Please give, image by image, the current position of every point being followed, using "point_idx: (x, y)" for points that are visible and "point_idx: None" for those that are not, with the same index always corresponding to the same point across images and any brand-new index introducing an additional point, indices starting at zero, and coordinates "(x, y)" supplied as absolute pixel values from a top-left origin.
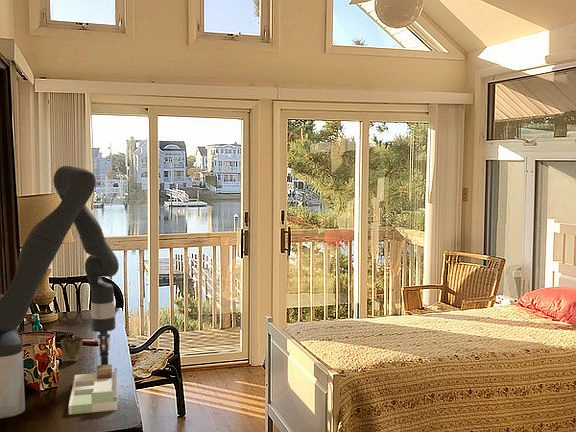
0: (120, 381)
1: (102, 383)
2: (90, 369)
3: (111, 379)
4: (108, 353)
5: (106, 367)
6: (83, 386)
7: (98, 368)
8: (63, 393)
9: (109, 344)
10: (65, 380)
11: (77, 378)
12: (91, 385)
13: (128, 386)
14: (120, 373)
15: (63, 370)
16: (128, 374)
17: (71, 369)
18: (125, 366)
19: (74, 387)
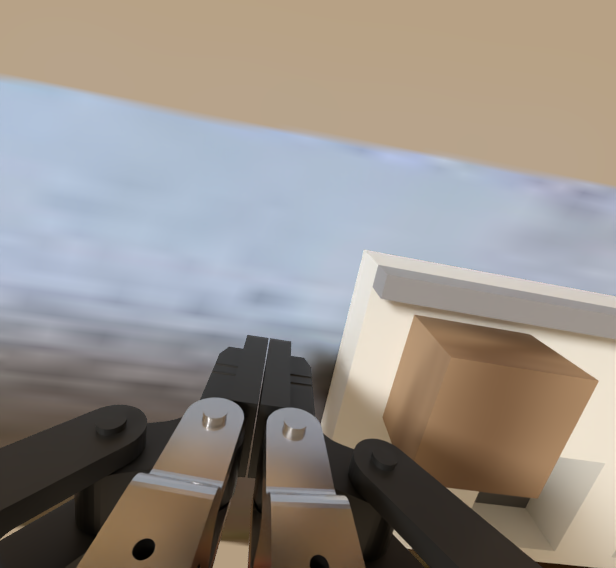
0: (435, 237)
1: (610, 411)
2: (40, 387)
3: (567, 342)
4: (225, 412)
5: (526, 418)
6: (580, 514)
7: (509, 483)
8: None
9: (196, 554)
10: (235, 527)
11: (394, 531)
12: (599, 475)
13: (585, 203)
14: (229, 197)
15: (18, 526)
16: (287, 136)
17: None
18: (23, 107)
19: (563, 555)
